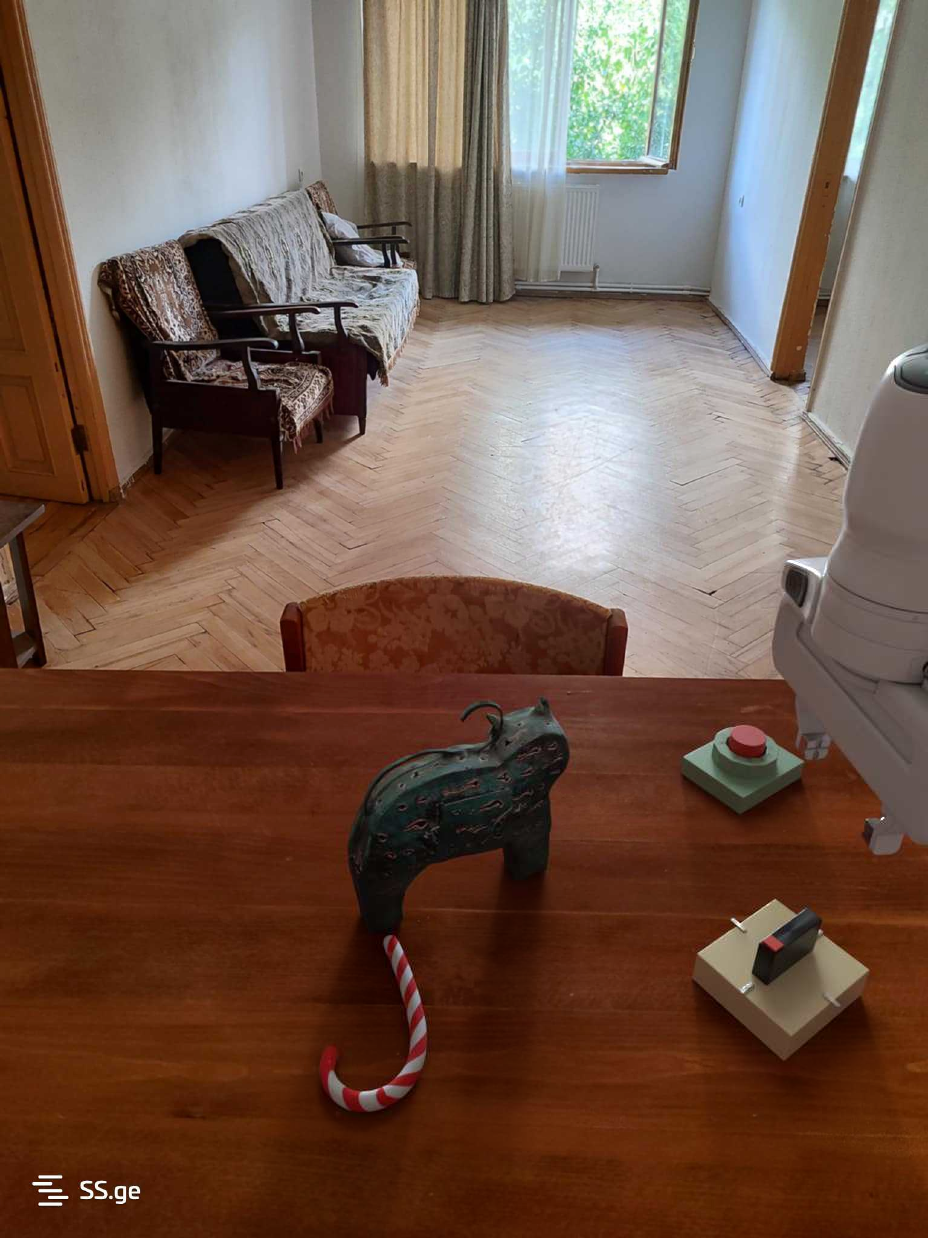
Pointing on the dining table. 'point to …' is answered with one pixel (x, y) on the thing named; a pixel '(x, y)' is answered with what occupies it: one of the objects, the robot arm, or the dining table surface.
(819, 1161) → the dining table surface
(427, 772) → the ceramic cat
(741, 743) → the red button
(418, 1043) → the candy cane
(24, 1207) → the dining table surface
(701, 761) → the button box
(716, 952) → the battery holder base
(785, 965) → the black battery pack
